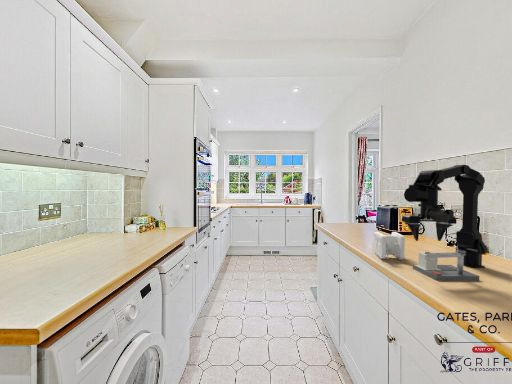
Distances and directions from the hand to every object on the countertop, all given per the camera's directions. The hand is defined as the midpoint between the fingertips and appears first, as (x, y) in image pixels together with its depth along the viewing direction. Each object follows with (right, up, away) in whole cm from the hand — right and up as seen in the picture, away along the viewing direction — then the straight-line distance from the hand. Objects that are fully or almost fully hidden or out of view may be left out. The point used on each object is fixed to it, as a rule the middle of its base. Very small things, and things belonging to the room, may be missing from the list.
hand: (427, 240), depth 103 cm
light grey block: (0, -11, 0) cm, 11 cm away
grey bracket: (0, -11, -9) cm, 14 cm away
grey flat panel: (+5, -13, -2) cm, 14 cm away
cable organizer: (-5, -12, +22) cm, 25 cm away
